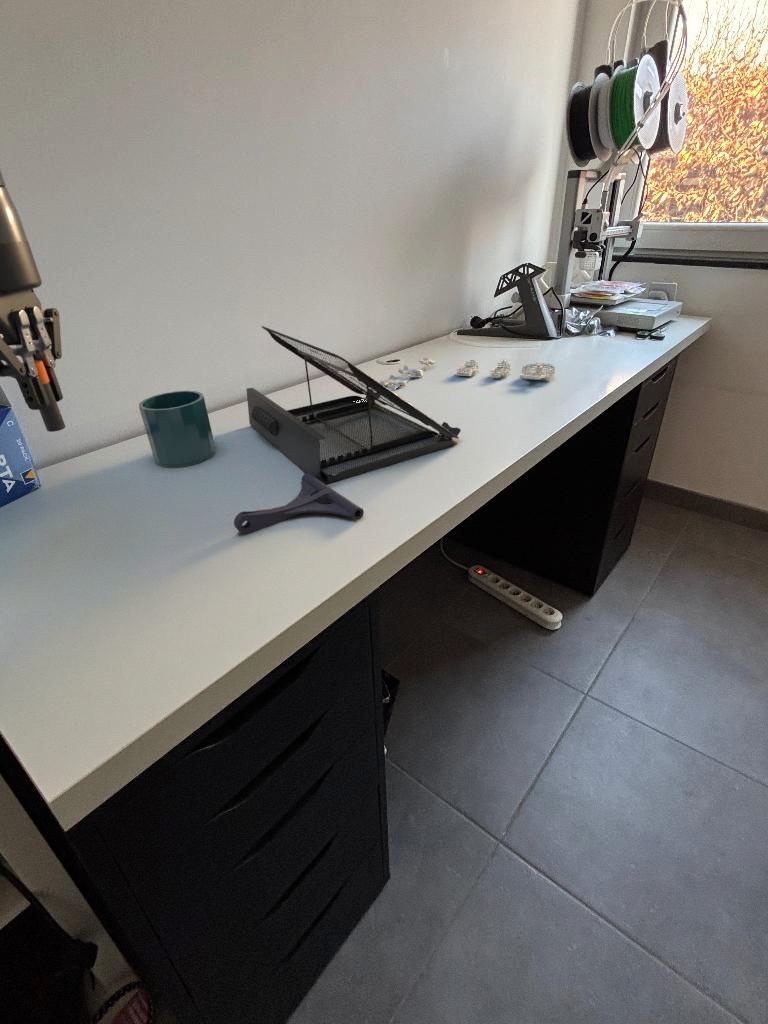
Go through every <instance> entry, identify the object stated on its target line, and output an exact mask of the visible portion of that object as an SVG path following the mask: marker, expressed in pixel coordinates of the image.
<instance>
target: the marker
mask: <svg viewBox="0 0 768 1024" xmlns="http://www.w3.org/2000/svg"><path fill="white" fill-rule="evenodd" d="M34 362H35V365H36V368H37V372H38V374H37V376H40V378H41V381H42V383H43V386H44V389H45V391H46V394H47V397H48V399H49V402H50V407H48V408H46V409H43V410H38V411H39V413H40V416H41V419H42V421H43V424H44V426H45V429H46V431H47V432H49V433H50V432H51V433H53V432H59V431H62V430H64V429H65V428H66V424H65V421H64V419H63V415H62V412H61V411H60V407H59V405H58V402H56V399H55V397H54V394H53V391H52V389H51V386H50V383H49V382H50V380H49V378H48V375H47V372H46V369H45V367H44V364H43V361H42V360H34ZM21 363H22V364H23V365H24V363H23V362H21Z"/></svg>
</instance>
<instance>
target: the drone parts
mask: <svg viewBox="0 0 768 1024" xmlns="http://www.w3.org/2000/svg"><path fill="white" fill-rule="evenodd" d="M435 361H436V360H431V359H430V358H429V357H423V360H422V359H419V360H418V363H419V364H421V365H425V366H429V367H430V366H435V365H436V363H435ZM479 363H480V362H476V360H475V359H470V360H469V361H465V362H464V363H463V364H460V366H458V367H457V368H456V373H453V374H454V376H463V377H473V375H474V374H476V373H477V374H478V373H479V372H478V370H479V369H480V366H479ZM555 370H556V366H555V365H554V364H550V363H546V362H545V363H544V362H535V363H534V364H533V363H529V364H525V365H523V366H522V368H521V374H519V376H518V377H519V379H525V380H535V381H537V380H539V381H540V380H541V379H545V381H546V382H548V381H549V378H551V377H553V376H554V375H555V373H556V371H555ZM423 371H424V370H423V369H419V368H417V369H415V370H413V371H411V370H410V371H409V366H408V365H404V366H403V369H402V368H399V369H398V373H399V374H401V375H403V374H407V375H408V377H409V378H413V377H414V378H413V379H416V378H419V376H421V377H420V378H422V377H424V373H423ZM510 371H511V363H507V361H506V360H505V359H503V360H500V362H496V364H495V365H494V367H493V369H492V370H490V372H489V374H491V375H490V376H489V377H490V378H493V379H500V378H501V376H504V377H508V376H510V374H509V372H510ZM477 374H476V375H477ZM388 378H389V379H387V380H386V381H384V380H380V381H379V383H380V384H382V385H383V386H385V387H386V386H387V385H391V384H393V385H392V386H393V390H394V391H396V390H397V389H396V388H398V387H399V388H400V387H401V386H400V385H403V386H402V387H406V386H407V383H408V382H409V380H410V379H406V380H400V381H397V382H396V381H395V375H394V374H390V375H389V377H388ZM394 385H395V386H394ZM399 388H398V389H399Z"/></svg>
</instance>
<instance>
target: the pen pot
mask: <svg viewBox="0 0 768 1024" xmlns="http://www.w3.org/2000/svg"><path fill="white" fill-rule="evenodd" d="M138 408H139V413H140V415H141V419H142V422H143V426H144V429H145V433H146V436H147V439H148V442H149V446H150V449H151V453H152V456H153V459H154V462H155V463H156V465H158V466H160V467H163V468H172V469H173V468H175V469H176V468H185V467H190V466H194V465H197V464H200V463H203V462H205V461H207V460H209V459H211V458H212V457H213V456H214V455H215V454H216V452H217V449H216V448H217V447H216V443H215V439H214V435H213V430H212V426H211V422H210V418H209V413H208V409H207V404H206V400H205V396H204V394H203V393H202V392H200V391H197V390H176V391H170V392H169V391H168V392H164V393H163V392H162V393H160V394H159V393H158V394H155V395H152V396H149V397H147V398H144V399H142V401H141V402H139V403H138Z"/></svg>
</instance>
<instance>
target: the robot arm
mask: <svg viewBox="0 0 768 1024" xmlns="http://www.w3.org/2000/svg"><path fill="white" fill-rule="evenodd" d="M42 283H43V281H42V277H41V275H40V272H39V269H38V266H37V264H36V261H35V258H34V255H33V251H32V248H31V246H30V243H29V240H28V237H27V234H26V231H25V228H24V225H23V221H22V219H21V216H20V214H19V211H18V209H17V207H16V205H15V202H14V201H13V199H12V197H11V195H10V192H9V190H8V187H7V184H6V181H5V178H4V176H3V172H2V169H1V168H0V377H1V378H3V377H4V378H5V377H6V378H7V377H8V378H9V377H10V378H12V379H14V380H16V382H17V384H18V387H19V389H20V392H21V394H22V397H23V399H24V402H25V404H26V405H27V407H28V408H29V410H32V411H39V410H43V409H46V408H48V407H50V402H49V399H48V397H47V394H46V391H45V389H44V386H43V383H42V381H41V378H40V376H37V374H38V372H37V368H36V365H35V362H34V360H42V361H43V364H44V367H45V369H46V372H47V375H48V378H49V380H50V382H49V383H50V386H51V389H52V391H53V394H54V397H55V399H56V402H57V403H58V402H61V401H62V400H63V399H64V395H63V394H62V388H61V386H60V384H59V380H58V377H57V374H56V371H55V368H56V360H61V359H62V355H63V352H62V339H61V338H62V336H61V321H60V313H59V310H58V309H57V308H56V307H52V308H51V307H50V308H47V307H45V306H43V305H42V303H41V300H40V299H39V297H38V296H37V294H36V292H35V291H34V289H36V288H37V289H38V288H39V287H41V286H42ZM11 346H15V347H11ZM17 356H18V357H21V359H22V362H21V360H20V359H19V358H18V357H17ZM4 362H5V363H4ZM22 363H24V365H23V364H22Z"/></svg>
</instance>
